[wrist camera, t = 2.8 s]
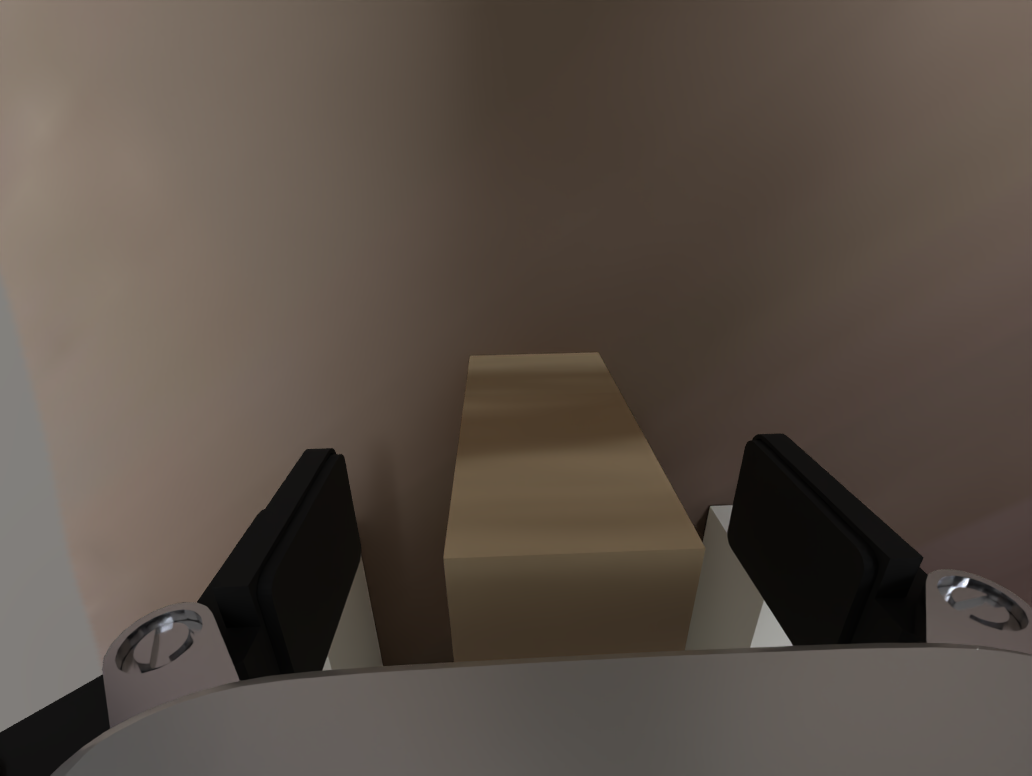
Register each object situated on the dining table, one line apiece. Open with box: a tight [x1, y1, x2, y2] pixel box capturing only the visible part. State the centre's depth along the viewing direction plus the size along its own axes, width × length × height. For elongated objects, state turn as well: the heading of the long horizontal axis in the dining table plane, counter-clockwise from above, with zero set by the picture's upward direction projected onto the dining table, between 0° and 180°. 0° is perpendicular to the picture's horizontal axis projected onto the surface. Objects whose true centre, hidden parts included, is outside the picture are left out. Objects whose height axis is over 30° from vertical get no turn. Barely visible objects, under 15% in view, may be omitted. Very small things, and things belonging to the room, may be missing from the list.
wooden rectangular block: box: [443, 352, 706, 662], centre depth 14 cm, size 12×4×8 cm, turn 1°
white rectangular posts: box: [322, 505, 793, 671], centre depth 20 cm, size 20×17×4 cm
